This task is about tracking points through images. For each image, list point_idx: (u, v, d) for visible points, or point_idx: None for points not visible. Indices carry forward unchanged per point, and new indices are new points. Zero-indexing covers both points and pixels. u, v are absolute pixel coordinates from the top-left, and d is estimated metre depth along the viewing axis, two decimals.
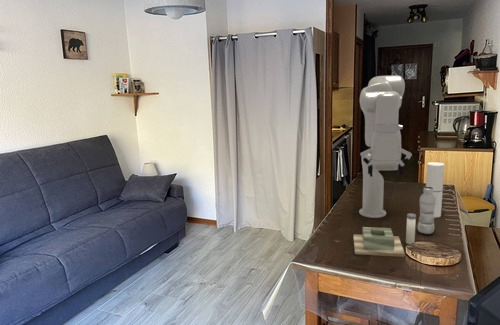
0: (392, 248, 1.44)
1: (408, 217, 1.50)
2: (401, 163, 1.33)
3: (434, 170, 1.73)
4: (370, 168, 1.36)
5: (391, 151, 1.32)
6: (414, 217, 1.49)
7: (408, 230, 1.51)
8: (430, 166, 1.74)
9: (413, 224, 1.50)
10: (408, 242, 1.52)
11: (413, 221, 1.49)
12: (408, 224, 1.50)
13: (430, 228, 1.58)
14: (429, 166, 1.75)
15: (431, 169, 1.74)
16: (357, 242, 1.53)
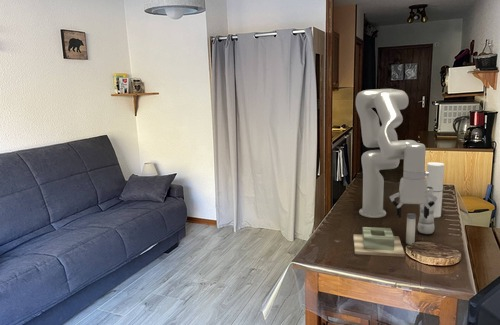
0: (392, 248, 1.44)
1: (408, 217, 1.50)
2: (427, 206, 1.46)
3: (434, 170, 1.73)
4: (399, 210, 1.49)
5: (418, 195, 1.45)
6: (414, 217, 1.49)
7: (408, 230, 1.51)
8: (430, 166, 1.74)
9: (413, 224, 1.50)
10: (408, 242, 1.52)
11: (413, 221, 1.49)
12: (408, 224, 1.50)
13: (430, 228, 1.58)
14: (429, 166, 1.75)
15: (431, 169, 1.74)
16: (357, 242, 1.53)
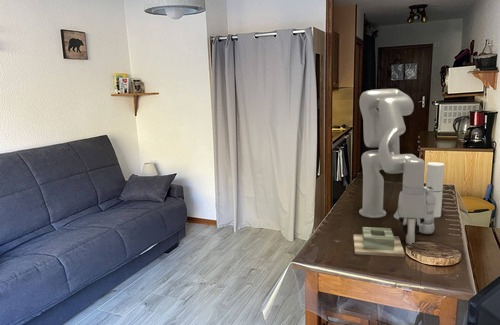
0: (392, 248, 1.44)
1: None
2: (418, 223, 1.49)
3: (434, 170, 1.73)
4: (405, 227, 1.51)
5: (417, 210, 1.47)
6: None
7: (408, 230, 1.51)
8: (430, 166, 1.74)
9: (413, 224, 1.50)
10: (408, 242, 1.52)
11: (413, 221, 1.49)
12: (408, 224, 1.50)
13: (430, 228, 1.58)
14: (429, 166, 1.75)
15: (431, 169, 1.74)
16: (357, 242, 1.53)
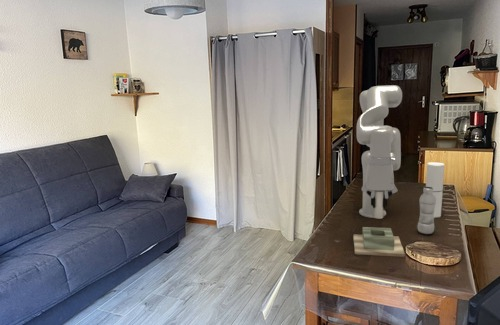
0: (392, 248, 1.44)
1: None
2: (385, 196, 1.44)
3: (434, 170, 1.73)
4: (373, 200, 1.46)
5: (384, 182, 1.42)
6: None
7: (376, 204, 1.46)
8: (430, 166, 1.74)
9: (381, 197, 1.45)
10: (376, 216, 1.47)
11: (381, 194, 1.44)
12: (376, 197, 1.45)
13: (430, 228, 1.58)
14: (429, 166, 1.75)
15: (431, 169, 1.74)
16: (357, 242, 1.53)
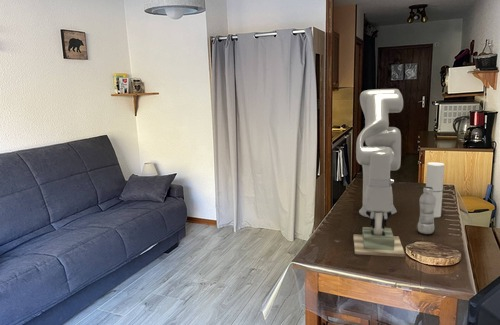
0: (392, 248, 1.44)
1: (375, 211, 1.47)
2: (384, 216, 1.46)
3: (434, 170, 1.73)
4: (372, 221, 1.48)
5: (383, 203, 1.44)
6: None
7: (375, 224, 1.48)
8: (430, 166, 1.74)
9: (380, 218, 1.47)
10: None
11: (380, 215, 1.46)
12: (375, 218, 1.47)
13: (430, 228, 1.58)
14: (429, 166, 1.75)
15: (431, 169, 1.74)
16: (357, 242, 1.53)
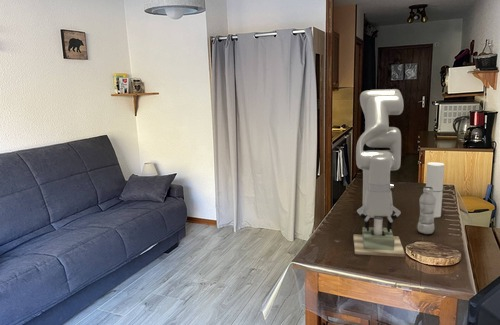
0: (392, 248, 1.44)
1: (375, 217, 1.48)
2: (390, 220, 1.46)
3: (434, 170, 1.73)
4: (367, 223, 1.49)
5: (383, 208, 1.45)
6: (381, 217, 1.47)
7: (375, 231, 1.49)
8: (430, 166, 1.74)
9: (380, 225, 1.48)
10: None
11: (380, 221, 1.47)
12: (375, 224, 1.48)
13: (430, 228, 1.58)
14: (429, 166, 1.75)
15: (431, 169, 1.74)
16: (357, 242, 1.53)
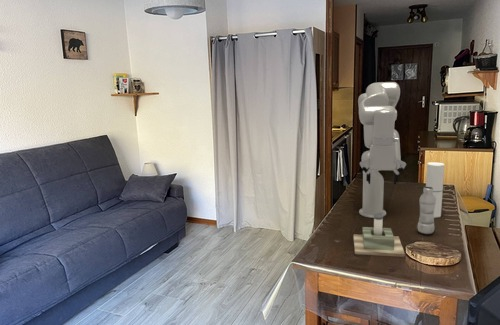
0: (392, 248, 1.44)
1: (375, 217, 1.48)
2: (396, 172, 1.47)
3: (434, 170, 1.73)
4: (368, 176, 1.50)
5: (387, 161, 1.46)
6: (381, 217, 1.47)
7: (375, 231, 1.49)
8: (430, 166, 1.74)
9: (380, 225, 1.48)
10: None
11: (380, 221, 1.47)
12: (375, 225, 1.48)
13: (430, 228, 1.58)
14: (429, 166, 1.75)
15: (431, 169, 1.74)
16: (357, 242, 1.53)
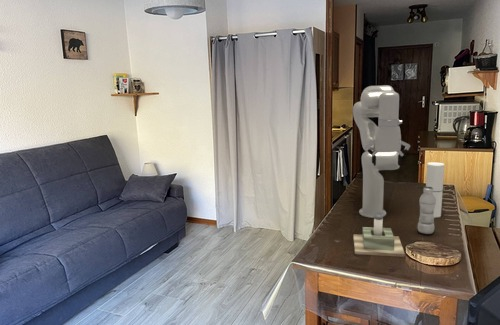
0: (392, 248, 1.44)
1: (375, 217, 1.48)
2: (401, 153, 1.52)
3: (434, 170, 1.73)
4: (374, 158, 1.55)
5: (392, 143, 1.51)
6: (381, 217, 1.47)
7: (375, 231, 1.49)
8: (430, 166, 1.74)
9: (380, 225, 1.48)
10: None
11: (380, 222, 1.47)
12: (375, 225, 1.48)
13: (430, 228, 1.58)
14: (429, 166, 1.75)
15: (431, 169, 1.74)
16: (357, 242, 1.53)
